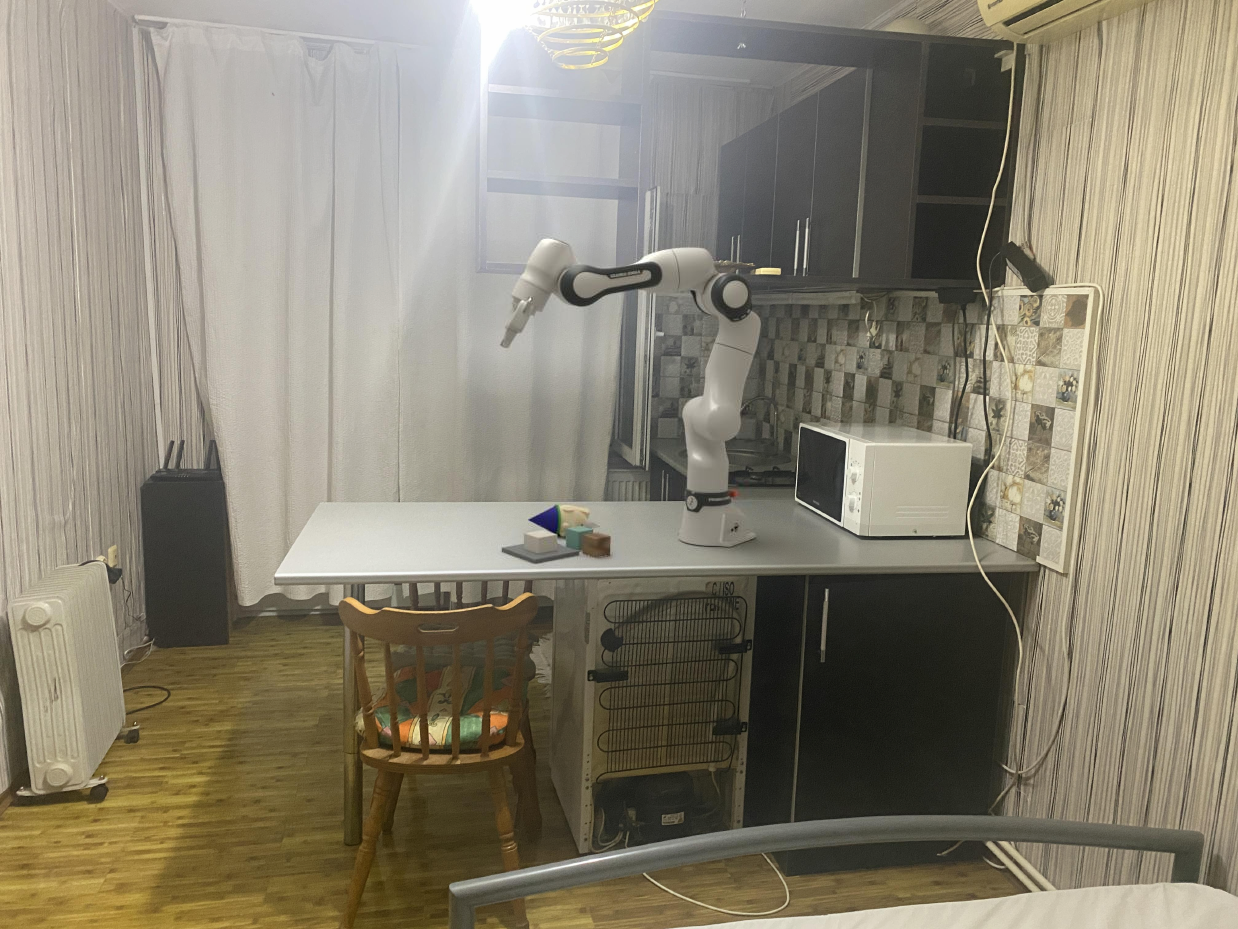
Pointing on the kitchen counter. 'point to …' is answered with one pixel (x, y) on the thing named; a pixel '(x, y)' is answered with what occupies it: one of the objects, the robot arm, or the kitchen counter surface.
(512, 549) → the build board
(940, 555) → the kitchen counter surface
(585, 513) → the cartoon head
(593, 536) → the walnut block
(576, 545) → the teal block
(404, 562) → the kitchen counter surface
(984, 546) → the kitchen counter surface
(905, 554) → the kitchen counter surface
